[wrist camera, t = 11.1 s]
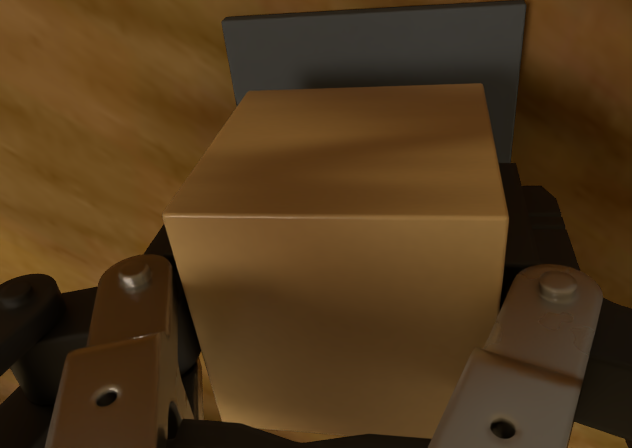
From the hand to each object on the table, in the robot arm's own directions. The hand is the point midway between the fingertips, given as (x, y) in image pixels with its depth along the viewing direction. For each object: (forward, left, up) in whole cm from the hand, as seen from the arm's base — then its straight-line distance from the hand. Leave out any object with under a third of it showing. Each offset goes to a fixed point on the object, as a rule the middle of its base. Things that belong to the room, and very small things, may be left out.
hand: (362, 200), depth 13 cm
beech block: (0, 0, -1) cm, 1 cm away
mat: (0, 0, -3) cm, 3 cm away
